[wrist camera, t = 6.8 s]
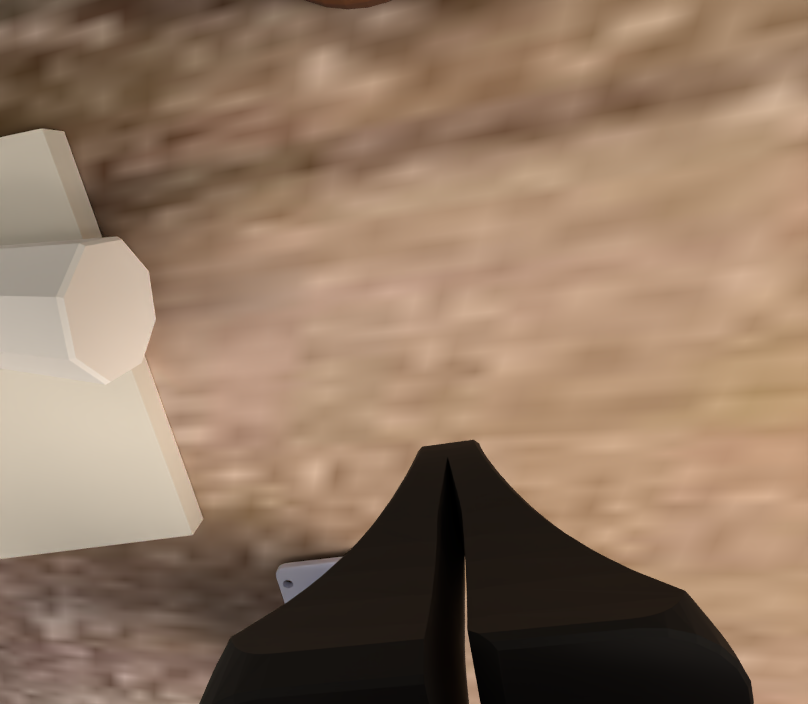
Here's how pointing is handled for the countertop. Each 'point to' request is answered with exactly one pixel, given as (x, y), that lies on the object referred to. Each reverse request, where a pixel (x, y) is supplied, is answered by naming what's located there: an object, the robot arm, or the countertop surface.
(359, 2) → the food container
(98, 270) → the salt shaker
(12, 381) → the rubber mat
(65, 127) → the countertop surface
